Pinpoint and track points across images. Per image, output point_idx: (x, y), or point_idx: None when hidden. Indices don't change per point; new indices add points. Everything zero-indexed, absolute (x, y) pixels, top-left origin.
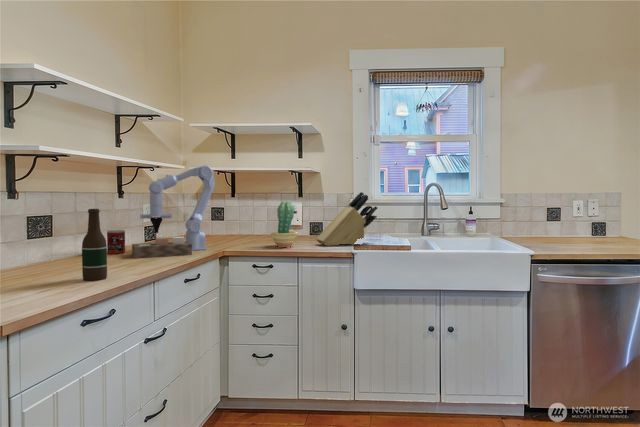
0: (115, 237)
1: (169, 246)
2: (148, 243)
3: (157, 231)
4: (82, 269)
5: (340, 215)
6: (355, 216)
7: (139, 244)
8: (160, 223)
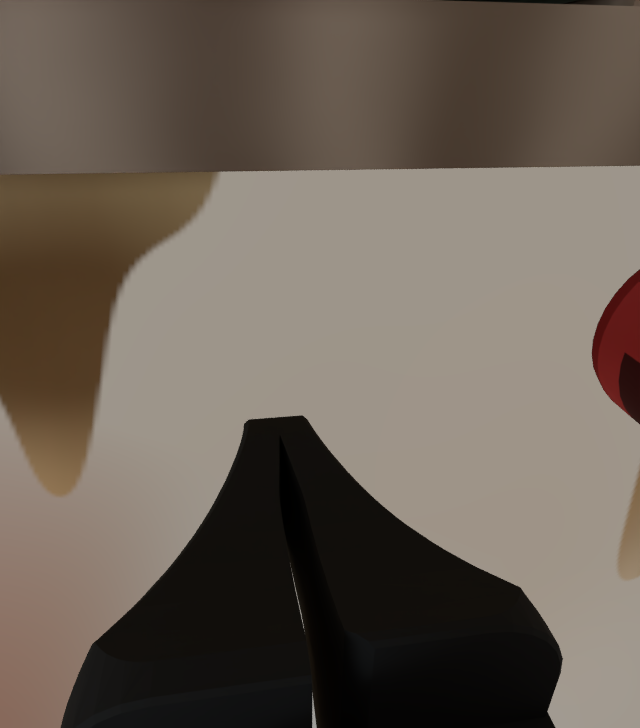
0: None
1: None
2: (428, 130)
3: (260, 430)
4: None
5: None
6: None
7: (601, 28)
8: (172, 564)
